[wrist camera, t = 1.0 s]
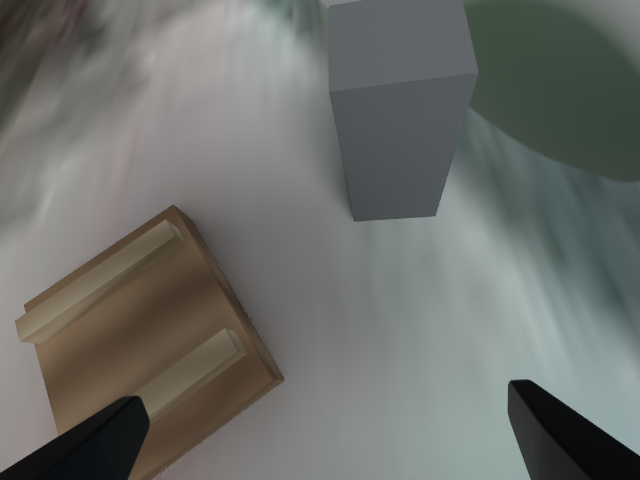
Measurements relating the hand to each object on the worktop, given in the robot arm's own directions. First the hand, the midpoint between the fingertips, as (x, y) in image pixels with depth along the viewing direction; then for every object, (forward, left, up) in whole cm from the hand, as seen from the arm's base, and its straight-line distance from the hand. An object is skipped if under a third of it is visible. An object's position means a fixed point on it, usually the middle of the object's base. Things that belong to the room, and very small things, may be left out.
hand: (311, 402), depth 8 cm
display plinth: (+11, +7, -13) cm, 19 cm away
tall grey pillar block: (+7, -12, -13) cm, 19 cm away
